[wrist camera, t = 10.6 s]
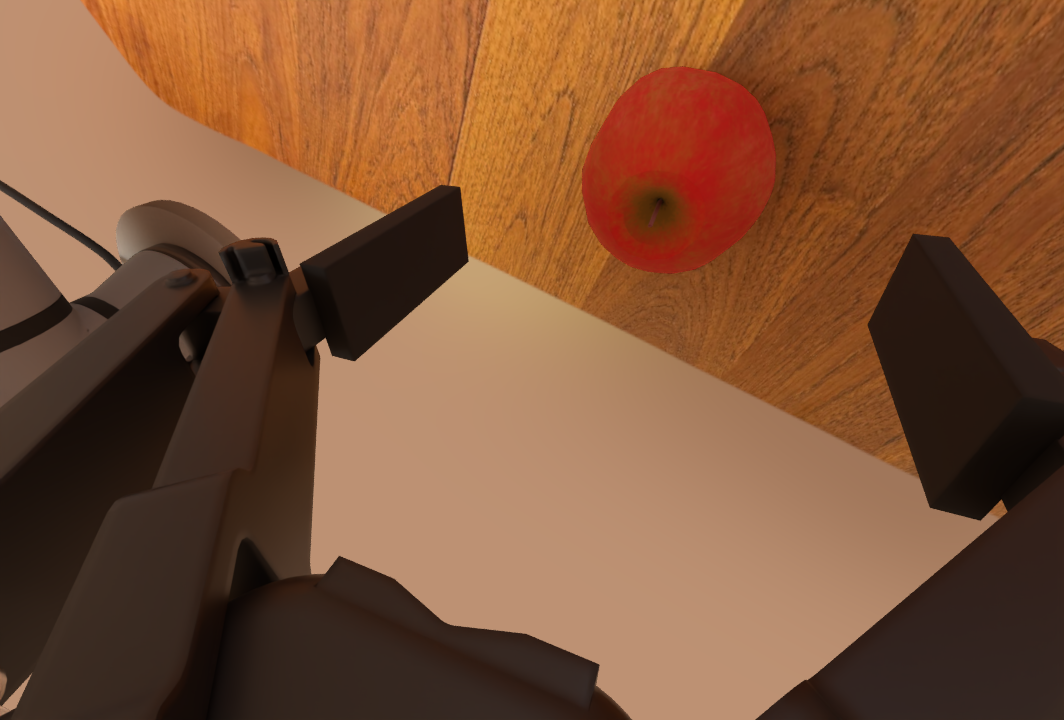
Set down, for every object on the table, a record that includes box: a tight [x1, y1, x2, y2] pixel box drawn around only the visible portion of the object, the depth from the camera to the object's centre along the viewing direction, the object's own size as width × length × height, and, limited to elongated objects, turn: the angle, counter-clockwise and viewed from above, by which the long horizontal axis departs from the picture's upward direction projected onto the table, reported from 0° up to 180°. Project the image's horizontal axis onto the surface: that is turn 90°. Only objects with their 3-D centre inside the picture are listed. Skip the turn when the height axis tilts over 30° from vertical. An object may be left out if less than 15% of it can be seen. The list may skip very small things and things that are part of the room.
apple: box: [582, 66, 776, 274], centre depth 20 cm, size 8×8×11 cm
